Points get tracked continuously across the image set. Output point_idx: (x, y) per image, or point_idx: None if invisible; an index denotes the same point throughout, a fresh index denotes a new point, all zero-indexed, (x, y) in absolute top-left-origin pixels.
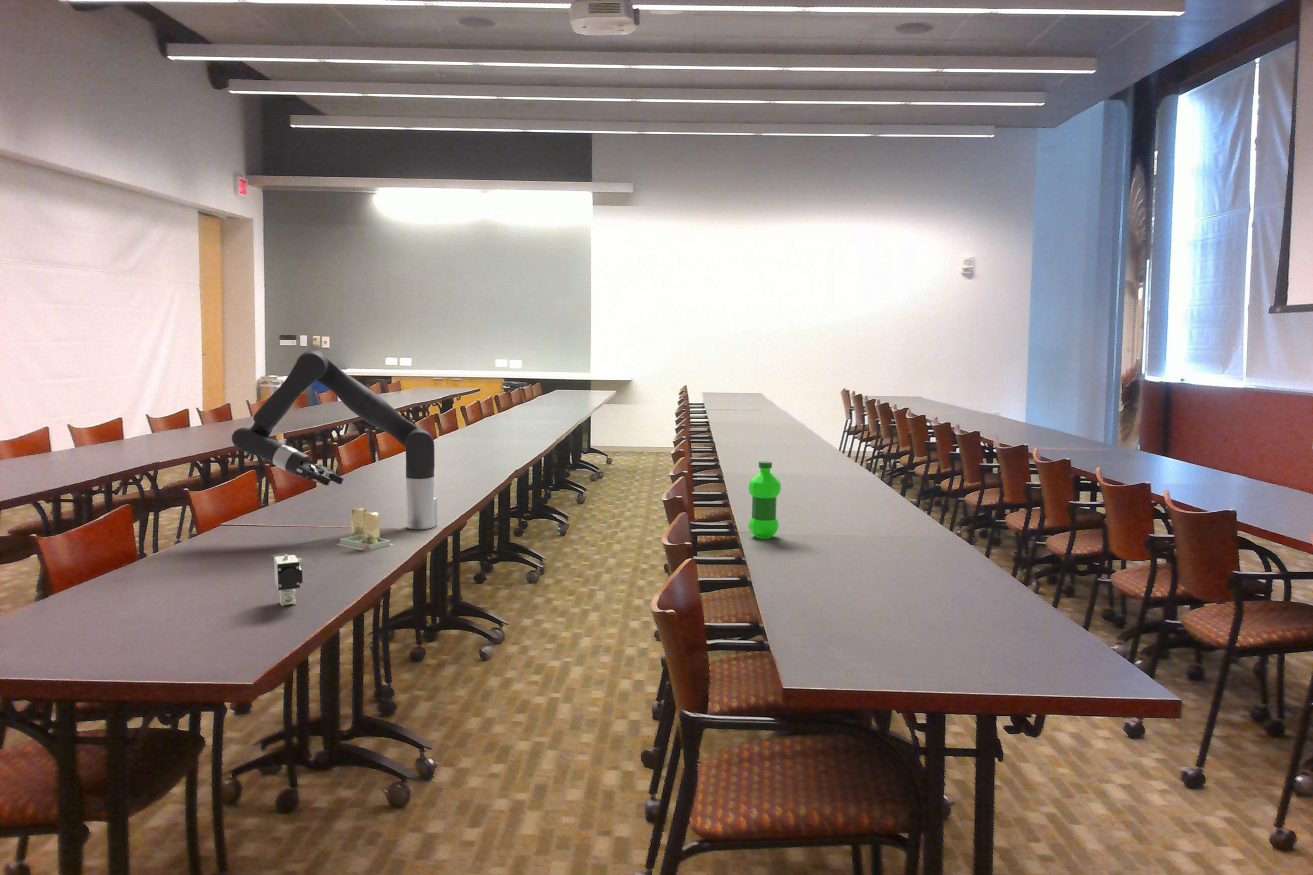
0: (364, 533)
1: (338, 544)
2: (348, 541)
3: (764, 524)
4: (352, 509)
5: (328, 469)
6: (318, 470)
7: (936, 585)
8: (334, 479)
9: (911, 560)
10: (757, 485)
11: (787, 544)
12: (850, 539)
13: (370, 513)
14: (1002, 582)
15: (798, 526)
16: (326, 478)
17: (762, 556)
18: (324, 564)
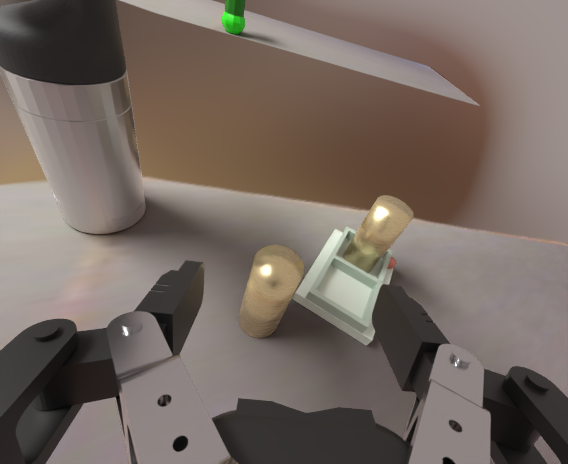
0: (385, 252)
1: (371, 334)
2: (375, 301)
3: (244, 20)
4: (291, 281)
5: (20, 394)
6: (331, 424)
7: (334, 44)
8: (185, 325)
9: (289, 30)
10: None
11: (256, 35)
12: None
13: (398, 209)
14: (322, 34)
15: (196, 14)
16: (408, 299)
17: (291, 50)
18: (475, 325)
